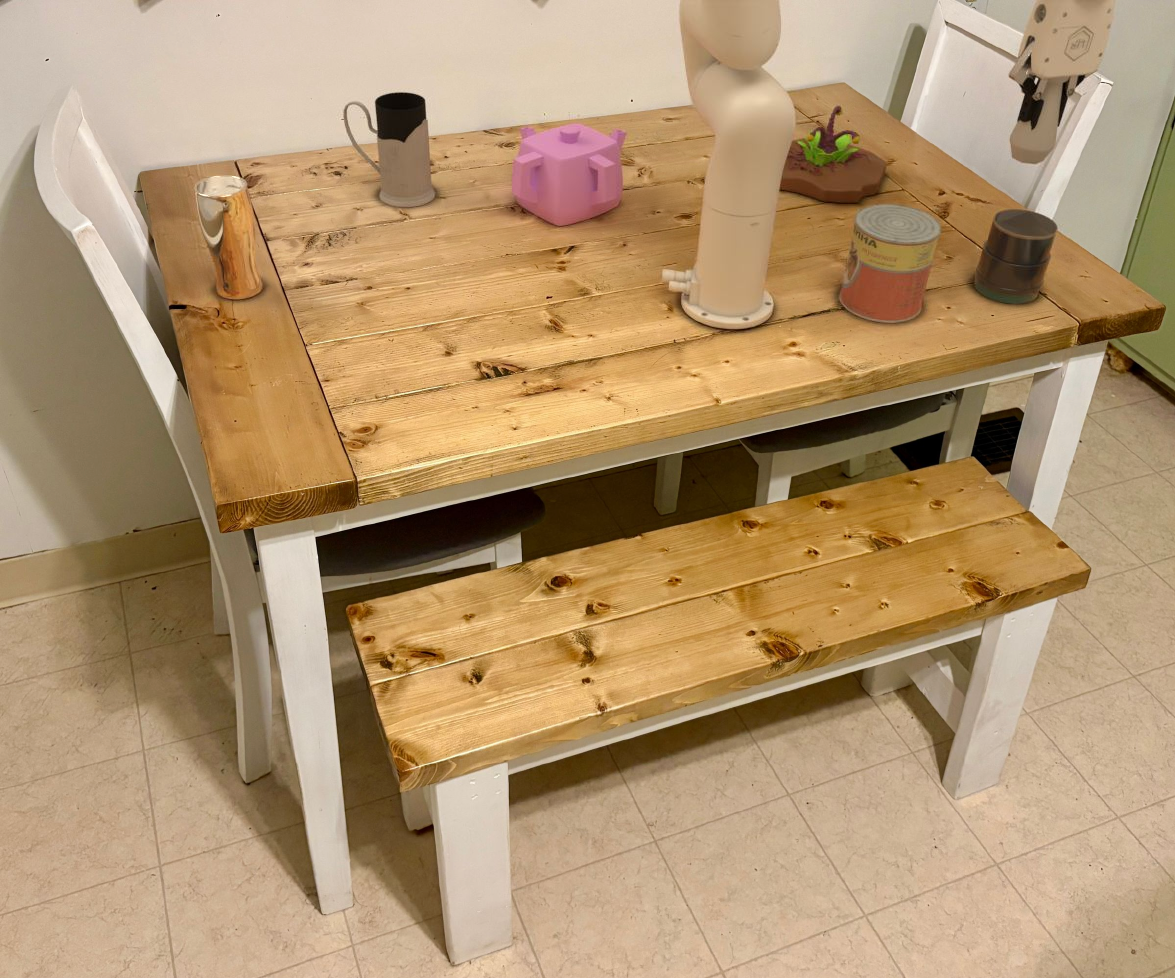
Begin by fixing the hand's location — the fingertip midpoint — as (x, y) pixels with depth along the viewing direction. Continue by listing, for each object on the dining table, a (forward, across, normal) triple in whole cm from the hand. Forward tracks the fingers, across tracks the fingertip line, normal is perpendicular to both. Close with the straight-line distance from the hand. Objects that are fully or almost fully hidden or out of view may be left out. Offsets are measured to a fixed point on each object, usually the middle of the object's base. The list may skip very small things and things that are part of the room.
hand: (1038, 123), depth 148 cm
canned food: (+23, -19, -1) cm, 30 cm away
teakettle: (+24, -50, +41) cm, 69 cm away
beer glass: (+24, -103, +28) cm, 109 cm away
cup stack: (+23, 0, -3) cm, 23 cm away
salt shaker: (+5, 0, 0) cm, 5 cm away
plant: (+23, -6, +38) cm, 45 cm away
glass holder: (+24, -76, +52) cm, 96 cm away
